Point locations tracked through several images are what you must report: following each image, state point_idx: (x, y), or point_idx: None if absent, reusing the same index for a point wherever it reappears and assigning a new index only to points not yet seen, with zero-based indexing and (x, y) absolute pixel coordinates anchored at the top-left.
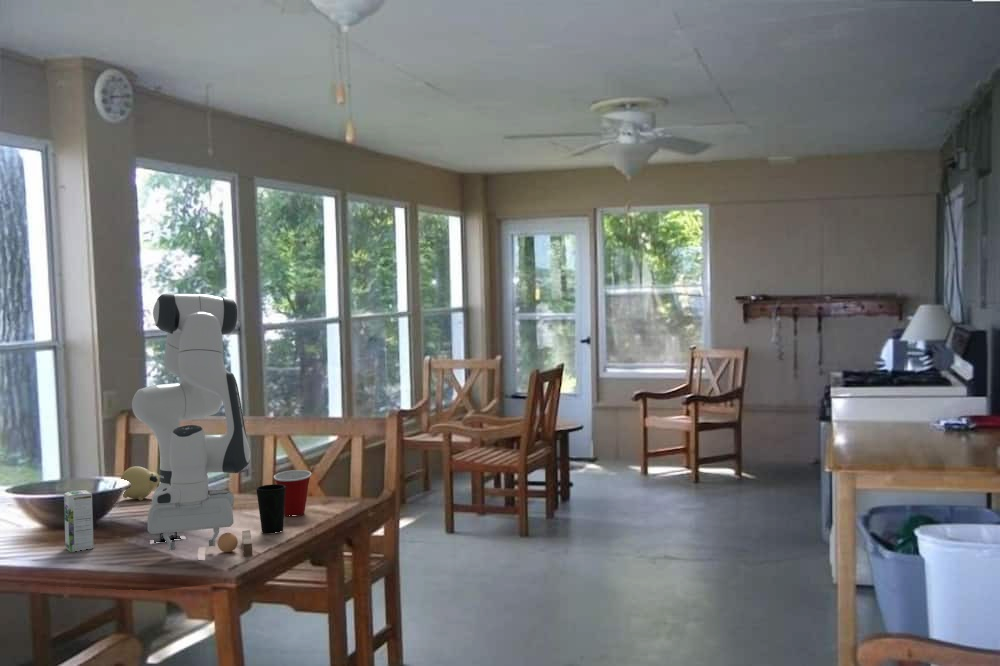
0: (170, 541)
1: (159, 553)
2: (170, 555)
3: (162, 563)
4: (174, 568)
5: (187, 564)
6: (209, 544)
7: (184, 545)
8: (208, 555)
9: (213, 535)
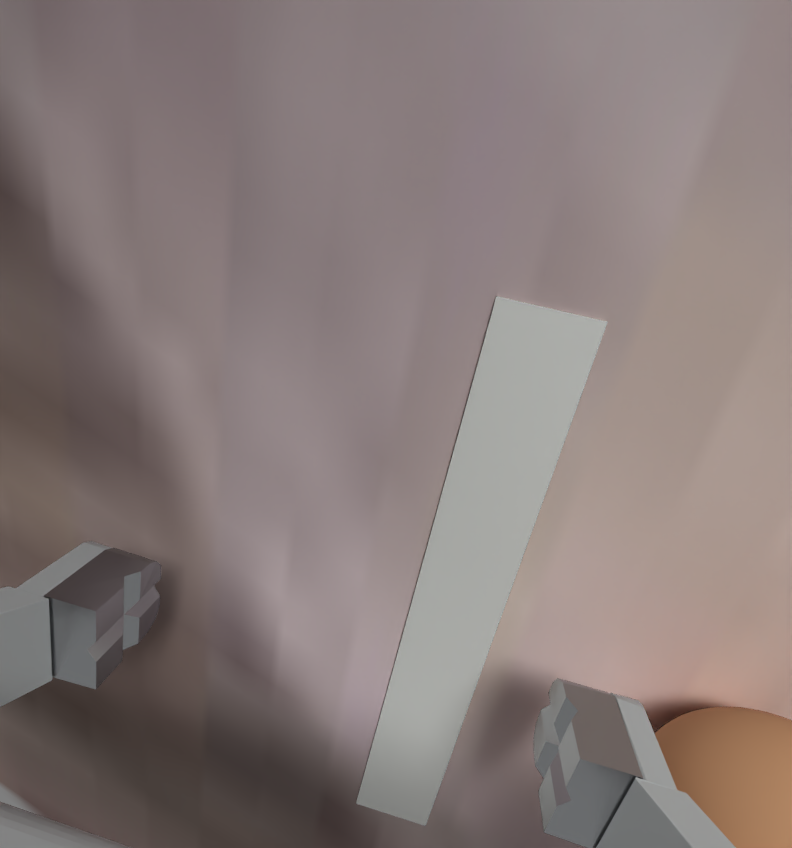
0: (25, 663)
1: (50, 335)
2: (161, 490)
3: (102, 686)
4: (187, 842)
5: (279, 822)
6: (541, 763)
7: (348, 79)
8: (494, 715)
9: (665, 843)
